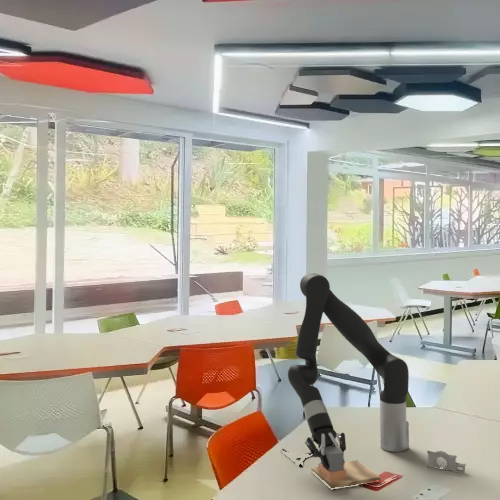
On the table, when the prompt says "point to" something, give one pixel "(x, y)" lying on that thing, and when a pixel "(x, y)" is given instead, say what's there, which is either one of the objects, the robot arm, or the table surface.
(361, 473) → the oak board
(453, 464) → the garden wall model
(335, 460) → the block
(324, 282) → the robot arm
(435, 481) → the table surface
